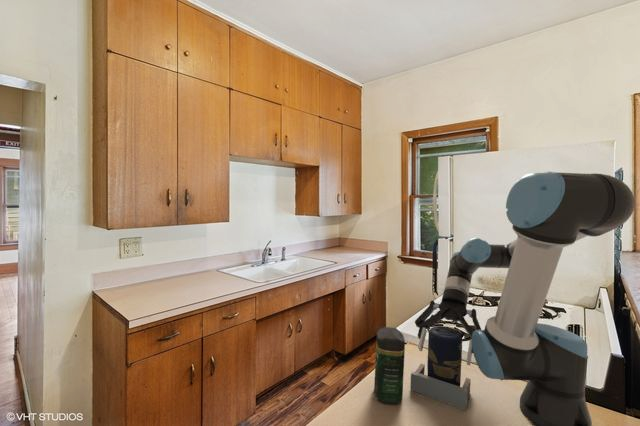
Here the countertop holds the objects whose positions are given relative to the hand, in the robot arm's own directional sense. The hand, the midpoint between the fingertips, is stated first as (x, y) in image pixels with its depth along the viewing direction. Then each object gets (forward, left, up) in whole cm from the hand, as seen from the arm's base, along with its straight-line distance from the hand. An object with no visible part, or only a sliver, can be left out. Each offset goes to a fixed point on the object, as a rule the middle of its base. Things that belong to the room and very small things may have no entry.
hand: (443, 356), depth 93 cm
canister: (0, -2, -10) cm, 11 cm away
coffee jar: (+12, +12, -10) cm, 20 cm away
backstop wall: (0, +5, -10) cm, 11 cm away
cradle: (0, 0, -10) cm, 10 cm away
